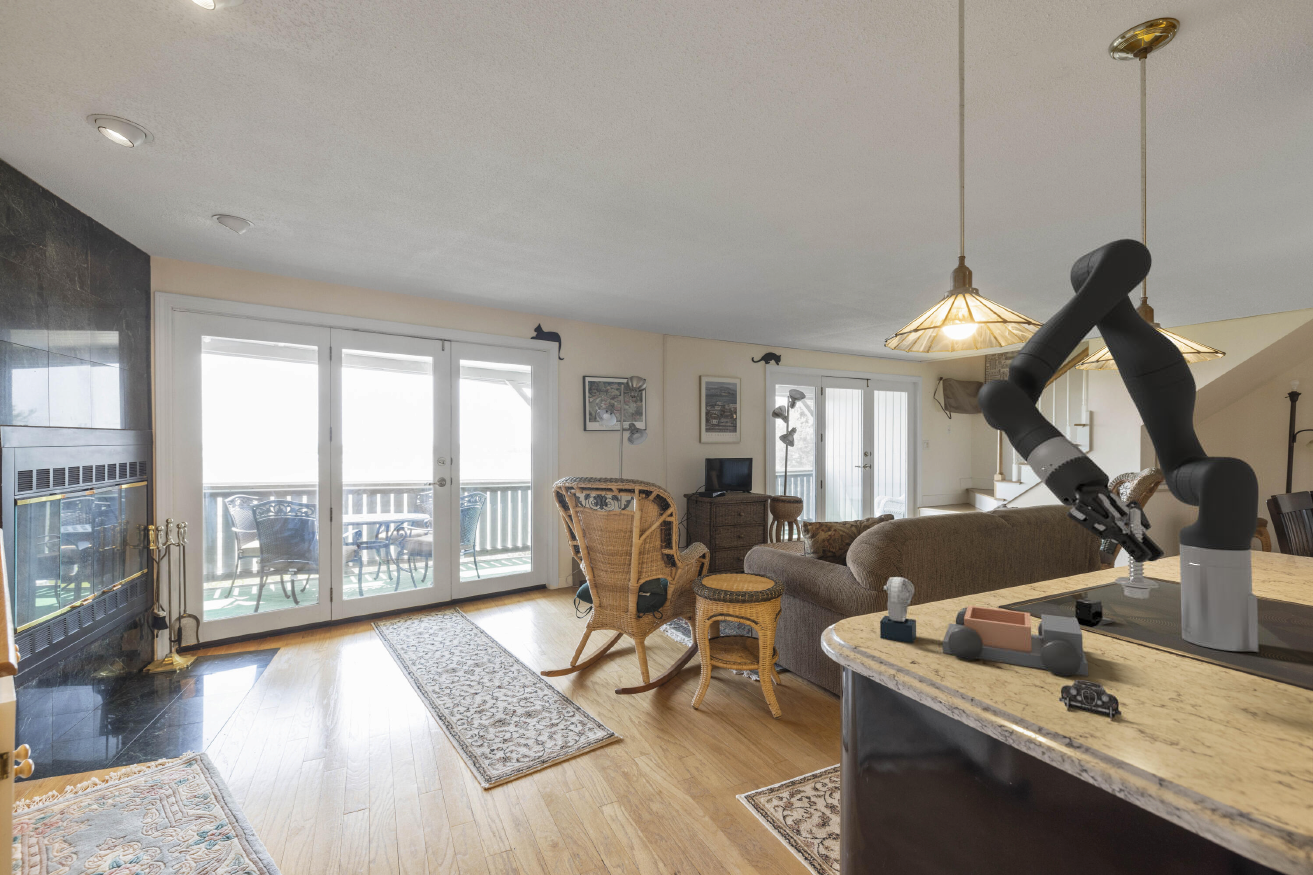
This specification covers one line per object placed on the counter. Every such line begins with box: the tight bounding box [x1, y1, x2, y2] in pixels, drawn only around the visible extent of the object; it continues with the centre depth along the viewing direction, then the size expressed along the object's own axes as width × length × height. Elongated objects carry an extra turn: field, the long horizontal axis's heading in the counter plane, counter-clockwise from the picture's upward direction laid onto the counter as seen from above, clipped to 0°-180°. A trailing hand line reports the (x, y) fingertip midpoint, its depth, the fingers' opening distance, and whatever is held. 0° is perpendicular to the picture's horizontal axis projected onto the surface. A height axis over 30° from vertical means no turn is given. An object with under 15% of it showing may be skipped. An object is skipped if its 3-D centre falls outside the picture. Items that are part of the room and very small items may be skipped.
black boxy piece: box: [1072, 597, 1116, 628], centre depth 118 cm, size 12×7×5 cm, turn 117°
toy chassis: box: [942, 605, 1089, 677], centre depth 99 cm, size 20×16×6 cm
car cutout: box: [1058, 679, 1122, 722], centre depth 74 cm, size 15×7×4 cm, turn 50°
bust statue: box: [879, 576, 917, 644], centre depth 108 cm, size 6×8×11 cm
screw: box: [1114, 508, 1159, 600], centre depth 85 cm, size 13×5×5 cm
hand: (1151, 558), depth 83 cm, fingers closed on screw, 2 cm apart
